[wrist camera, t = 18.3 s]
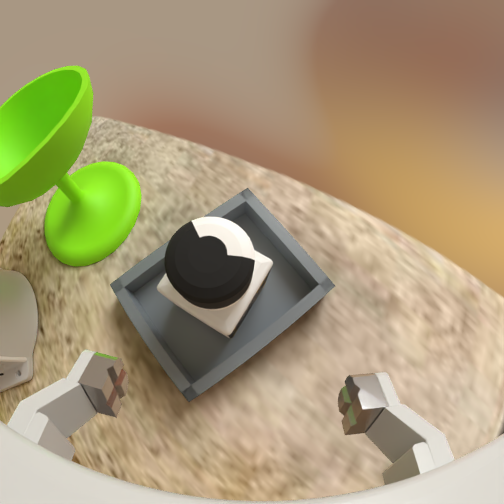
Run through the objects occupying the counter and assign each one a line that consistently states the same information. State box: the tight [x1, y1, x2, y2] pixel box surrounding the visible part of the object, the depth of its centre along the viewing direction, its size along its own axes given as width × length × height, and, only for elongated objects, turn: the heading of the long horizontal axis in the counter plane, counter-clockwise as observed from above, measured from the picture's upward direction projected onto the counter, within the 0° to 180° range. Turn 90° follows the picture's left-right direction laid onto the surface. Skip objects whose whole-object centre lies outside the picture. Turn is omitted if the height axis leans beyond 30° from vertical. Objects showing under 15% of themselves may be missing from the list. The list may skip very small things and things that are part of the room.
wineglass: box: [0, 66, 141, 267], centre depth 24 cm, size 16×16×18 cm
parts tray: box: [110, 188, 335, 402], centre depth 28 cm, size 18×14×4 cm
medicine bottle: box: [157, 217, 273, 338], centre depth 23 cm, size 7×7×12 cm
